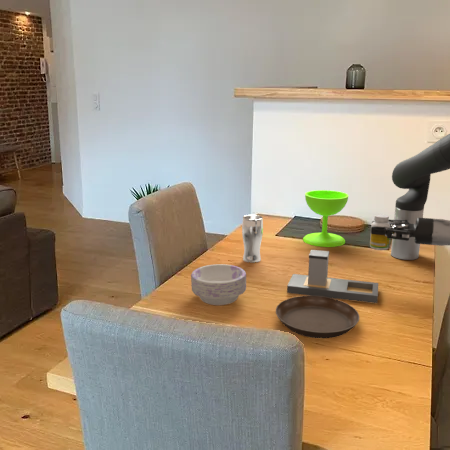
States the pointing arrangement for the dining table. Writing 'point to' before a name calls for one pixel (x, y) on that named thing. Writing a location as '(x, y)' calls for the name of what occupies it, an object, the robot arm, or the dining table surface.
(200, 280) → the paper bowls
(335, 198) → the wineglass
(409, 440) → the dining table surface
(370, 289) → the gray slotted tray
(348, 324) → the plant saucer
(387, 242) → the supplement bottle
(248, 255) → the beer glass
